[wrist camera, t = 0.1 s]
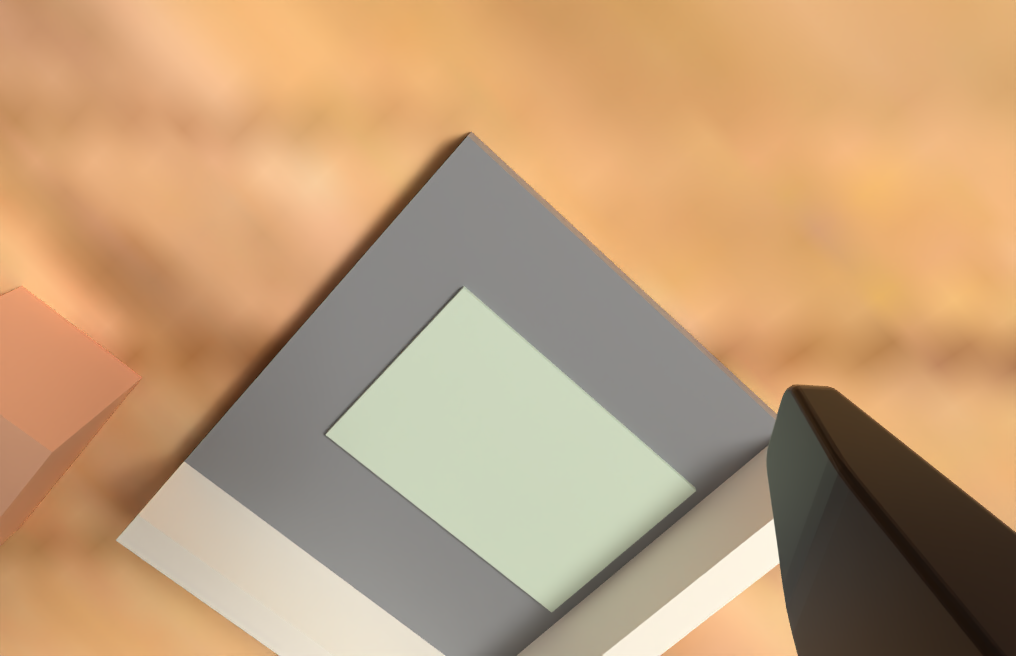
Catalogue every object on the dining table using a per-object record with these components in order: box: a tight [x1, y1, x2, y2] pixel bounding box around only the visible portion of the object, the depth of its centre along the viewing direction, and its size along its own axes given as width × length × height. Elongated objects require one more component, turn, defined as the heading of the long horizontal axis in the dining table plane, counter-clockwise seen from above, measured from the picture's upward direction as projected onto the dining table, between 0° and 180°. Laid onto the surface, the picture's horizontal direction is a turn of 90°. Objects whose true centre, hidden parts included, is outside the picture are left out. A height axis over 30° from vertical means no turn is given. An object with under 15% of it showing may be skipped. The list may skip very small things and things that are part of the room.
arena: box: [116, 132, 780, 656], centre depth 24 cm, size 15×14×4 cm
